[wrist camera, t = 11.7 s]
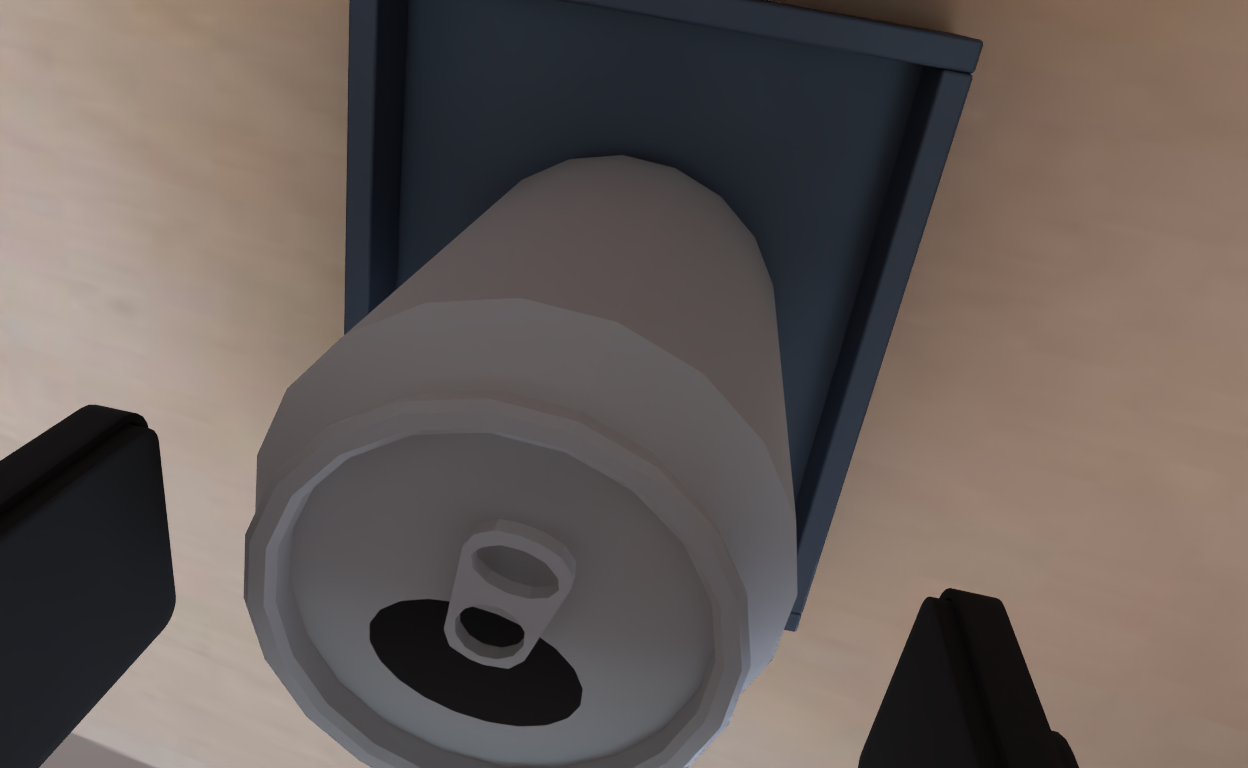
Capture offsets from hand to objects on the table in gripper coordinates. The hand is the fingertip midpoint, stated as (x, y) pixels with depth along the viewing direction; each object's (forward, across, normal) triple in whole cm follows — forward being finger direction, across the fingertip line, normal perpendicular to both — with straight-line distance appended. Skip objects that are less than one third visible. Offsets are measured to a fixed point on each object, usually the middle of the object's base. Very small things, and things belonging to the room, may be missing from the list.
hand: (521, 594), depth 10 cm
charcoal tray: (+12, 0, +1) cm, 12 cm away
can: (+12, 0, +1) cm, 12 cm away
